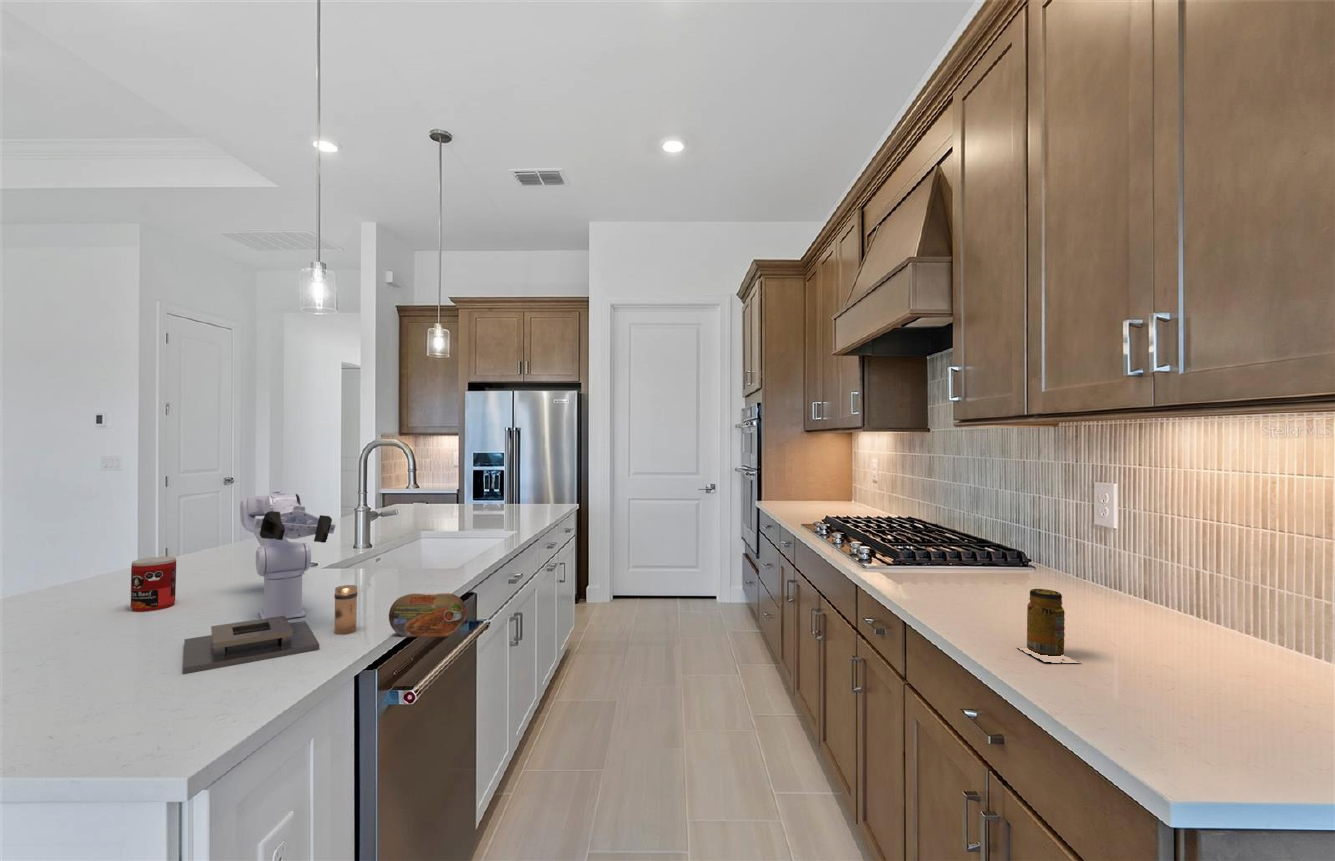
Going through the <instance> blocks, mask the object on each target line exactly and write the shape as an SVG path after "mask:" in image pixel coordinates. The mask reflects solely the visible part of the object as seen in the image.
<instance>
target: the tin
mask: <svg viewBox="0 0 1335 861" xmlns="http://www.w3.org/2000/svg"><path fill="white" fill-rule="evenodd" d="M466 617H467V607H466V604H465V602H464V600H462V598H461V597H460V596H458V595H456V594H454V593H450V592H449V593H446V592H445V593H444V592H443V593H409V594H406V595H403V596H400V597H398V598H397V599H396V600H395V601H394V602H393V603H392V604H391V606H390V609H389V612H388V620H389V625H390V627H391V629H392V630H393V632H395V633H396V634H398V635H399V636H401V637H403V638H419V637H420V638H445V637H446V638H447V637H450V636H452V635H454V634H455V633H457V632H458V631H459V630H460V629H461V627H463V625H464V623H465V622H466V619H467V618H466Z"/></svg>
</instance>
